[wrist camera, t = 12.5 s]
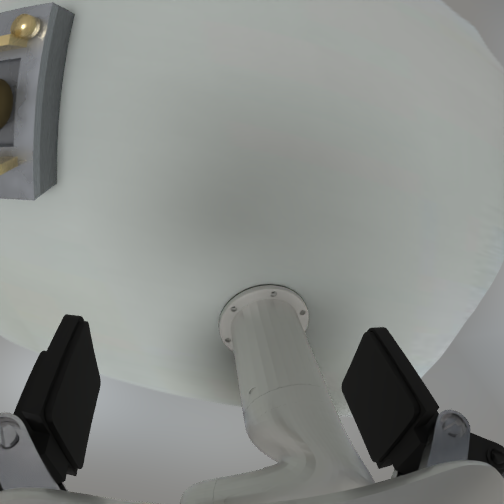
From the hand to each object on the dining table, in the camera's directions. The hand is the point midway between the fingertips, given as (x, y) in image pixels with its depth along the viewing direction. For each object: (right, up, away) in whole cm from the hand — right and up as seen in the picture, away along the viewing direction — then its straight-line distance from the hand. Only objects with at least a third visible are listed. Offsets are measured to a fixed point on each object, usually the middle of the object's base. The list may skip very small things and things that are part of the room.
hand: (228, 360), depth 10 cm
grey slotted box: (-27, +21, +16) cm, 38 cm away
